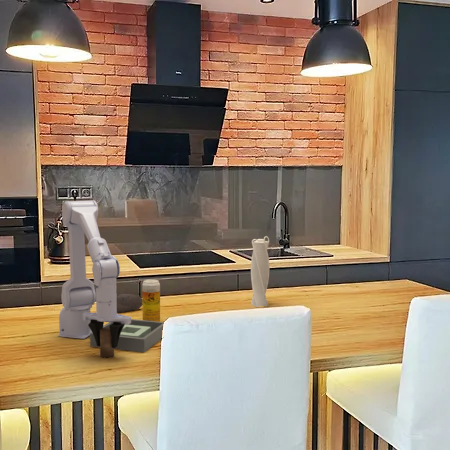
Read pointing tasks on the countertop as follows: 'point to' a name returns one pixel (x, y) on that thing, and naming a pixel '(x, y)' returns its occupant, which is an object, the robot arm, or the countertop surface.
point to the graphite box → (136, 342)
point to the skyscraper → (259, 271)
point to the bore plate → (135, 331)
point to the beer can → (151, 300)
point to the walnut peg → (106, 343)
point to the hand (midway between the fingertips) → (107, 346)
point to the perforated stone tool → (128, 302)
